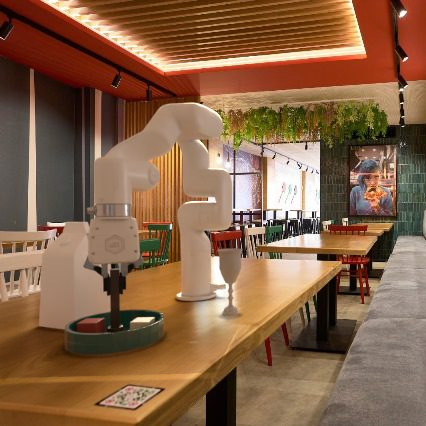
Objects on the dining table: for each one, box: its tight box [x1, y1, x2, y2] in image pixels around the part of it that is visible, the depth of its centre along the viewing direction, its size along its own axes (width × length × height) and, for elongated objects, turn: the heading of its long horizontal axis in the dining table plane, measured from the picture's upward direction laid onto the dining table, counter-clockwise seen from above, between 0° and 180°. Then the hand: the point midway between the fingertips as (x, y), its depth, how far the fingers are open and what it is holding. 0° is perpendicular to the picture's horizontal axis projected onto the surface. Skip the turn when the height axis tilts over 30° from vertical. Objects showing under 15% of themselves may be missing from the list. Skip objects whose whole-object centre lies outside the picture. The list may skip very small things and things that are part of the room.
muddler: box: [107, 267, 123, 333], centre depth 90 cm, size 3×3×14 cm
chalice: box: [217, 248, 244, 317], centre depth 108 cm, size 7×7×18 cm
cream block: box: [130, 317, 155, 330], centre depth 88 cm, size 4×4×4 cm
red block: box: [77, 318, 105, 333], centre depth 88 cm, size 4×4×4 cm
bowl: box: [63, 308, 166, 355], centre depth 88 cm, size 20×20×4 cm
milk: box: [38, 221, 112, 330], centre depth 101 cm, size 12×12×26 cm
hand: (114, 293), depth 90 cm, fingers closed on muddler
